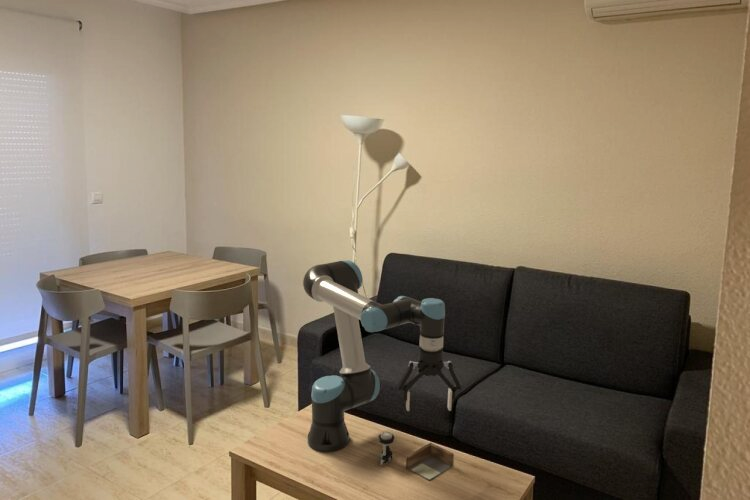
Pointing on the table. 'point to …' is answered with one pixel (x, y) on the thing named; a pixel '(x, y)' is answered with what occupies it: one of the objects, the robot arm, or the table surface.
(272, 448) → the table surface
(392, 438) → the push button
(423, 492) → the table surface
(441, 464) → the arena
